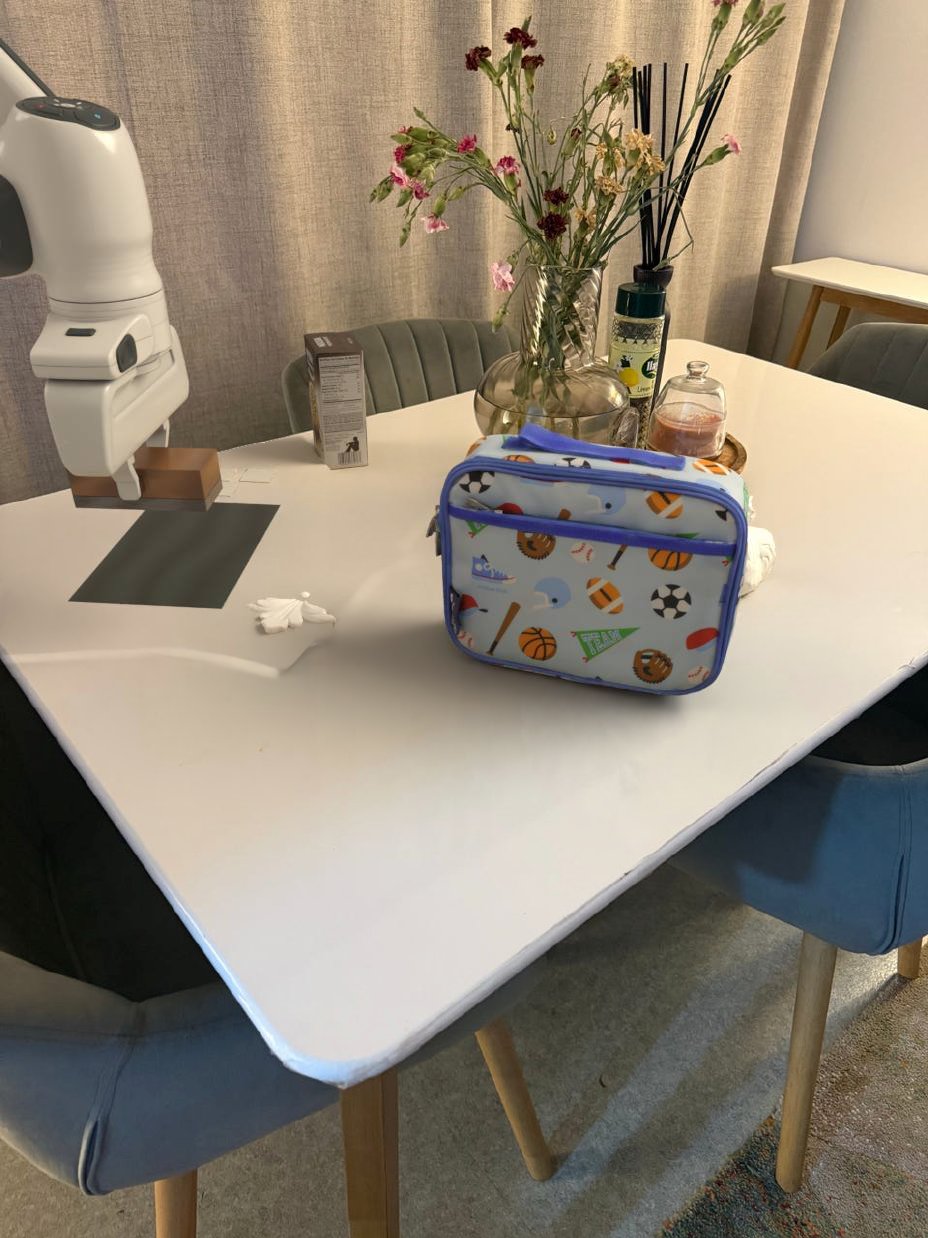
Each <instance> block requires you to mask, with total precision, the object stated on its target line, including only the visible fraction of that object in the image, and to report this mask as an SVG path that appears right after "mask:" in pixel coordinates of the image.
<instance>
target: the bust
mask: <svg viewBox="0 0 928 1238" xmlns="http://www.w3.org/2000/svg"><path fill="white" fill-rule="evenodd" d="M753 498H754V496H753V495H749V508H748V515H747V517H748V519H747V524H748V540H747V541H748V552H747V564H746V571H745V577H744V581H743V586H742V591H741V596H745V595H748V594H749V593H751V592H752V591H756V590H757V589H758V587H759V585H760V584H761V581H763V580H764V579H765V578H766V577H768V575H769V574H770V572H771V570H772V568H773V566H774V564H775V563H776V557H777V554H776V550H775V549H776V543H775V541H774V535H773V534H772V533H771V532H770V531H768V530H767V528H762V527H756V526H750V523H751V522H752V521H753V520H754V519H755V518H756V511H755V509H754V508H753V503H752V500H753Z"/></svg>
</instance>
